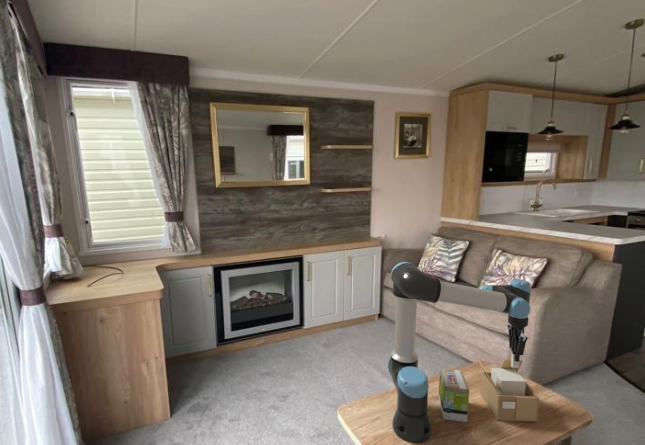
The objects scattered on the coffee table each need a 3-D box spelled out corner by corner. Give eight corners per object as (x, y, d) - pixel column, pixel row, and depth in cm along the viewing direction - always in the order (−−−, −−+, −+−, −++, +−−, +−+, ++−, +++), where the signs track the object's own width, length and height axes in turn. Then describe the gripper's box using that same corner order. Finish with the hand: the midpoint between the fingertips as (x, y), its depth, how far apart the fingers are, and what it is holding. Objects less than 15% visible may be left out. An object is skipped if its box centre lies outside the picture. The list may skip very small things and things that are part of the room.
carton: (497, 421, 142) (499, 388, 140) (480, 393, 160) (482, 364, 158) (539, 423, 141) (541, 389, 139) (516, 395, 159) (519, 365, 157)
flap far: (498, 372, 157) (498, 371, 157) (516, 373, 157) (516, 372, 157) (504, 360, 151) (504, 359, 152) (523, 360, 151) (522, 360, 151)
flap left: (498, 391, 143) (498, 392, 143) (490, 379, 152) (489, 379, 152) (487, 371, 142) (486, 372, 142) (479, 360, 151) (478, 361, 151)
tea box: (468, 422, 141) (469, 389, 139) (442, 419, 143) (444, 386, 141) (461, 400, 156) (462, 369, 154) (438, 397, 158) (439, 367, 156)
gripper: (535, 321, 140) (531, 375, 143) (520, 309, 153) (516, 359, 156) (516, 321, 141) (513, 374, 144) (502, 309, 154) (499, 358, 157)
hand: (514, 366), depth 150 cm, fingers closed
